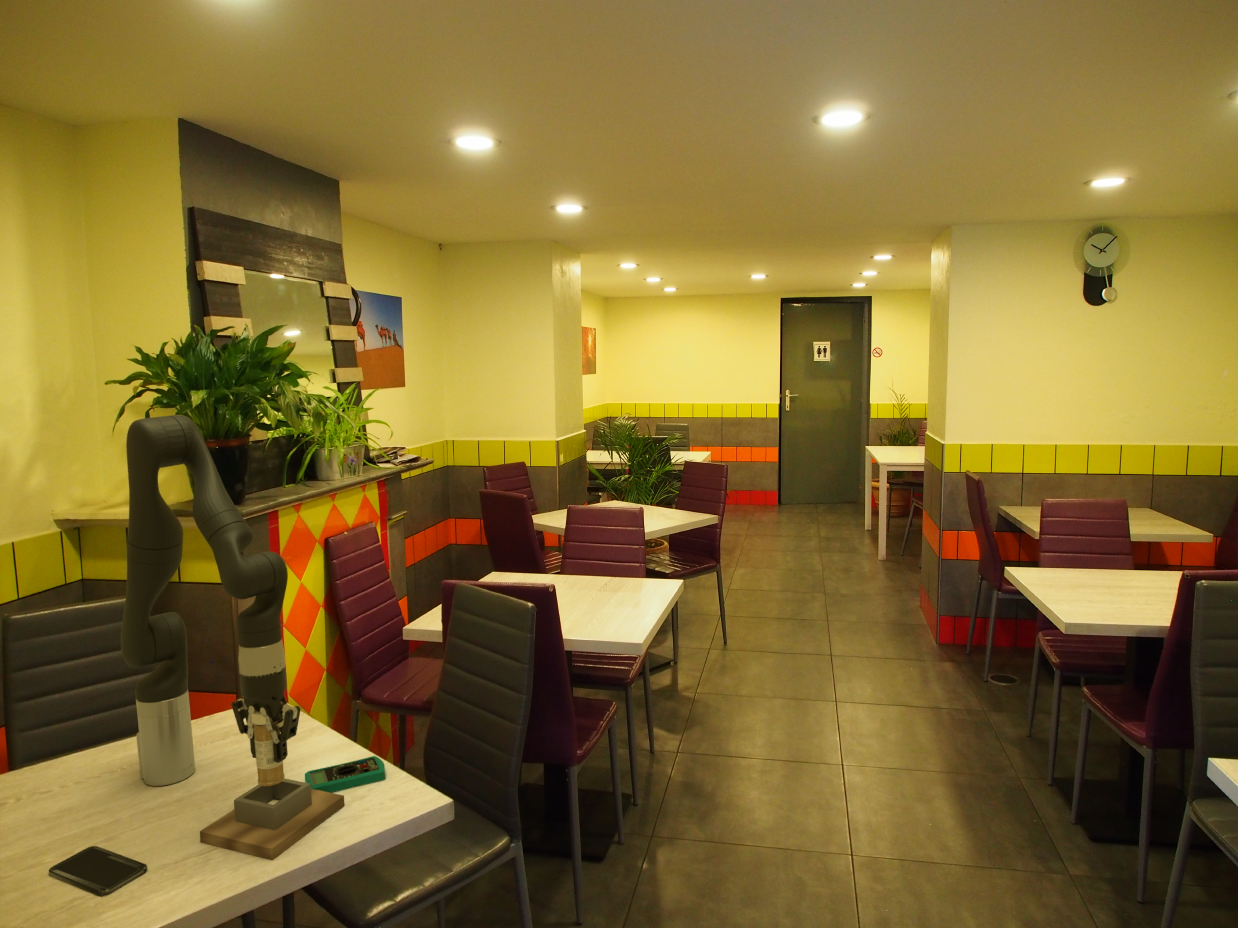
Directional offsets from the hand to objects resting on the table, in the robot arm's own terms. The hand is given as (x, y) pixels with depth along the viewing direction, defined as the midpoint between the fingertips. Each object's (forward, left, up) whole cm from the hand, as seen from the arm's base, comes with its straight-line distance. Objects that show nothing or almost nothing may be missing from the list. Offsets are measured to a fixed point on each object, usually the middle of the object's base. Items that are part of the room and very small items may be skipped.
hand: (269, 757), depth 147 cm
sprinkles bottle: (0, 0, -4) cm, 4 cm away
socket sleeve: (0, 0, -10) cm, 10 cm away
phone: (-17, -21, -13) cm, 30 cm away
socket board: (0, 0, -12) cm, 12 cm away
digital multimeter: (+2, +17, -13) cm, 21 cm away
